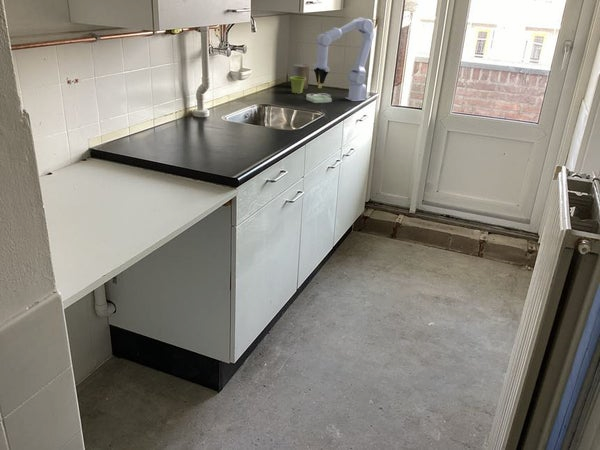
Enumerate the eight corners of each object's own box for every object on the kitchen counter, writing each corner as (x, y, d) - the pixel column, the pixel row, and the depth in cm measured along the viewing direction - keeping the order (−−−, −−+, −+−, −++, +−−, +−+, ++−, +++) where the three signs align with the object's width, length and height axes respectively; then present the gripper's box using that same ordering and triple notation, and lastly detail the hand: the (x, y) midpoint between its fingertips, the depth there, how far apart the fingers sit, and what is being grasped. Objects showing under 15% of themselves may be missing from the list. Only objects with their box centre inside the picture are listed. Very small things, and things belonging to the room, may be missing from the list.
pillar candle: (310, 87, 331) (312, 63, 325) (303, 90, 324) (304, 64, 317) (297, 85, 336) (298, 61, 329) (289, 87, 328) (290, 62, 322)
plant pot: (306, 94, 313) (307, 79, 309) (291, 94, 310) (291, 79, 307) (302, 91, 321) (303, 76, 317) (287, 91, 318) (288, 76, 315)
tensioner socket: (325, 95, 313) (325, 93, 312) (330, 97, 308) (330, 95, 307) (316, 96, 310) (316, 93, 309) (321, 98, 305) (321, 95, 305)
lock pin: (320, 86, 298) (321, 73, 295) (323, 88, 296) (324, 75, 292) (316, 87, 296) (317, 74, 293) (319, 88, 294) (320, 75, 291)
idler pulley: (314, 95, 311) (314, 92, 310) (320, 98, 305) (320, 94, 305) (303, 96, 308) (304, 92, 307) (309, 98, 302) (310, 95, 301)
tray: (323, 98, 305) (323, 95, 304) (331, 102, 298) (331, 98, 297) (306, 99, 300) (306, 96, 299) (314, 103, 293) (314, 99, 292)
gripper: (309, 55, 293) (307, 80, 299) (322, 59, 281) (320, 85, 287) (320, 55, 296) (318, 80, 302) (333, 59, 284) (331, 85, 290)
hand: (320, 82), depth 295 cm, fingers closed on lock pin, 3 cm apart
